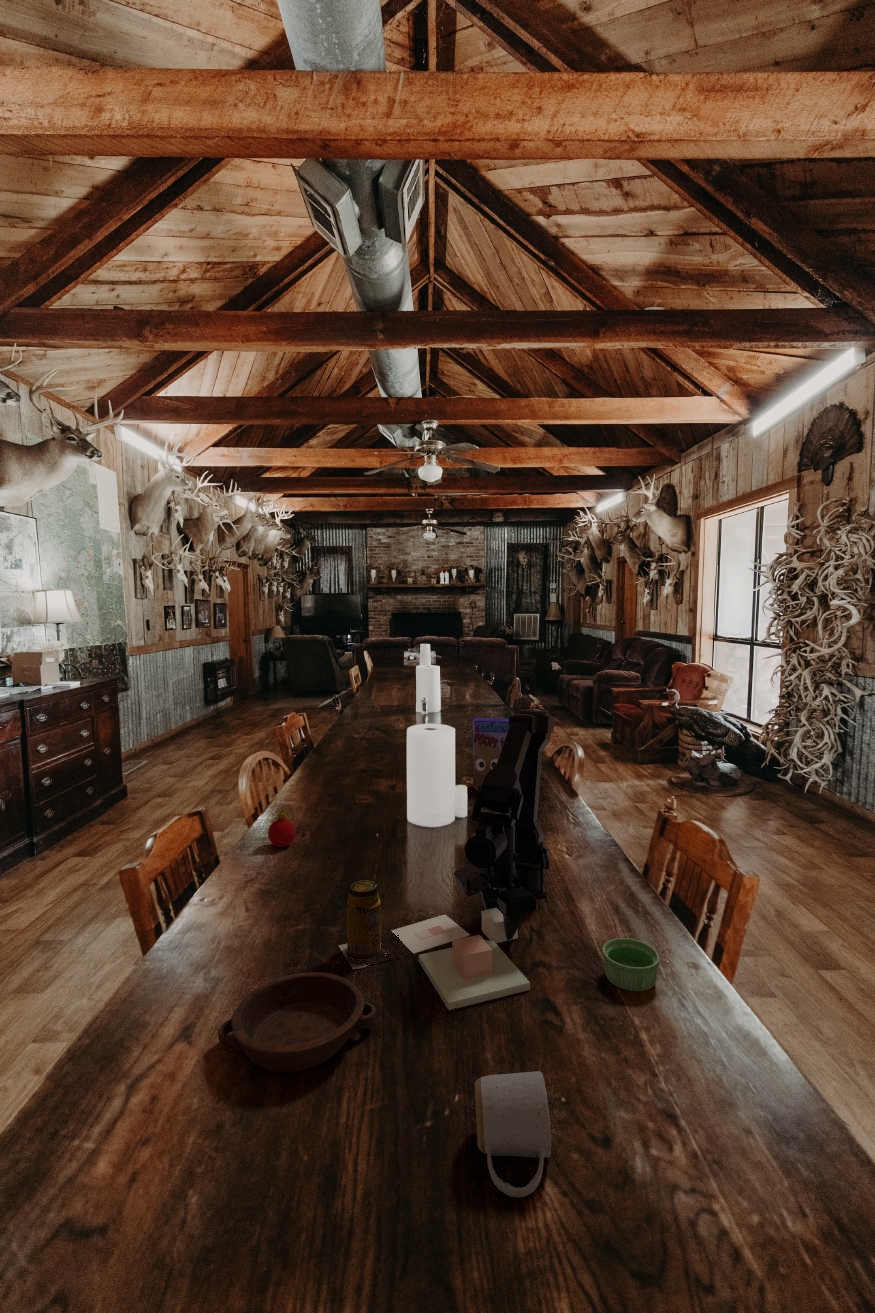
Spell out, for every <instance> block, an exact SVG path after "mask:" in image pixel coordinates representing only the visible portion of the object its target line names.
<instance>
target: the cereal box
mask: <svg viewBox="0 0 875 1313" xmlns="http://www.w3.org/2000/svg"><path fill="white" fill-rule="evenodd" d="M508 729H509V718H479V717H478V718H477V717H476V718H473V719H472V787H473V786H474V787H479V785H481V783H482V781H483V779H484V777H485V775H486V773H487V772H489V771H490V770H491V769H493V768H494V767H495V766H496V764H497V761H498V758H499V755H500V752H501V749H502V746H503V743H504V740H505V738H506V735H507V732H508ZM518 780H519V778H518Z"/></svg>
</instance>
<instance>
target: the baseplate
mask: <svg viewBox="0 0 875 1313" xmlns="http://www.w3.org/2000/svg"><path fill="white" fill-rule="evenodd" d="M484 940H485V942H486V943H487V944H488V945H489V946H490V947H491V948H492V973H490V974H486V975H482V976H478V977H474V978H470V979H466V980H464V978H463V977H462V976H461V974H460V973H459V971H458V970H457V969H456V967H455V966H454V965H453V955H452V947H449V948H445V949H439V950H435V951H430V952H425V953H421V954H418V963H419V964H420V966H421V967H422V969H423V970H424V973H425V974H426V976H427V977H428V979H429V981H430V982H431V984H432V986H433V988H434V989H435V991H436V990H437V991H436V992H437V994H438V993H439V994H438V995H440V996H439V997H440V998H441V1001H442V1002H443V1004H444V1003H445V1004H444V1005H445V1007H446V1009H447V1010H448V1011H451V1010H456V1009H460V1008H463V1007H467V1006H471V1005H476V1004H480V1003H484V1002H487V1001H491V1000H495V999H500V998H503V997H507V996H510V995H516V994H519V993H522V992H527V991H530V990H531V982H530V981H529V979H527V977H526V976H525V975H524V974H523V972H522V971H521V970H520V969H519V968H518V967H517V966H516V965H515V964H514V962H513V961H512V960H511V959H510V958H509V956H507V954H506V953H505V952H504V951H503V950H502V949H501V947H500V946H499V945H498V943H495V942H494V941H493V940H492V939H484ZM455 1008H456V1009H455Z"/></svg>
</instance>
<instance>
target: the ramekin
mask: <svg viewBox="0 0 875 1313" xmlns="http://www.w3.org/2000/svg"><path fill="white" fill-rule="evenodd" d="M602 956H603V963H604V964H603V965H604V974H605V977H606V978H607V980H608V981H609V982H610V983H611V984H612V985H614V986H616V987H617V988H619V989H621V990H625V991H628V992H645V991H647V990H650V989H652V988H653V987H654V986H655V984H656V982H657V973H658V966H659V963H660V955H659V952H658V951H657V950H656V949H655V948H654V947H653V946H651V945H650V944H648V943H647V942H644V941H641V940H640V939H639V940H638V939H634V938H627V937H626V938H625V937H619V938H613V939H610V940H607V941H606V942H604V944H603V946H602Z"/></svg>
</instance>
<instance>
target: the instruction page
mask: <svg viewBox="0 0 875 1313" xmlns="http://www.w3.org/2000/svg"><path fill="white" fill-rule="evenodd" d="M391 931H392V932H391V933H392V934H393V933H394V934H395V935H396V936H397V935H399V936H397V937H399V939H400V940H399V939H398V940H399V942H401V941H402V942H401V944H403V945H404V947H406V949H407V950H409V951H410V952H411V953H412V954H413V955H415V954H418V953H421V952H424V951H427V950H430V949H433V948H435V947H440V946H442V945H445V944H449V943H451V942H452V940H457V939H461V938H466V937H470V936H471V934H470V933H468V931H466V930H465V929H464V928H463V927H461V926H460V925H459V924H457V922H455V921H454V920H453V919H452V918H450V917H449V916H448V915H446V914H442V915H439V916H435V917H432V918H429V919H428V918H427V919H424V920H422V921H418V922H416V923H412V924H409V925H405V926H402V927H398V928H395V929H393V930H392V929H391ZM394 934H393V935H394ZM395 935H394V936H395ZM396 936H395V937H396ZM397 937H396V938H397Z"/></svg>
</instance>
